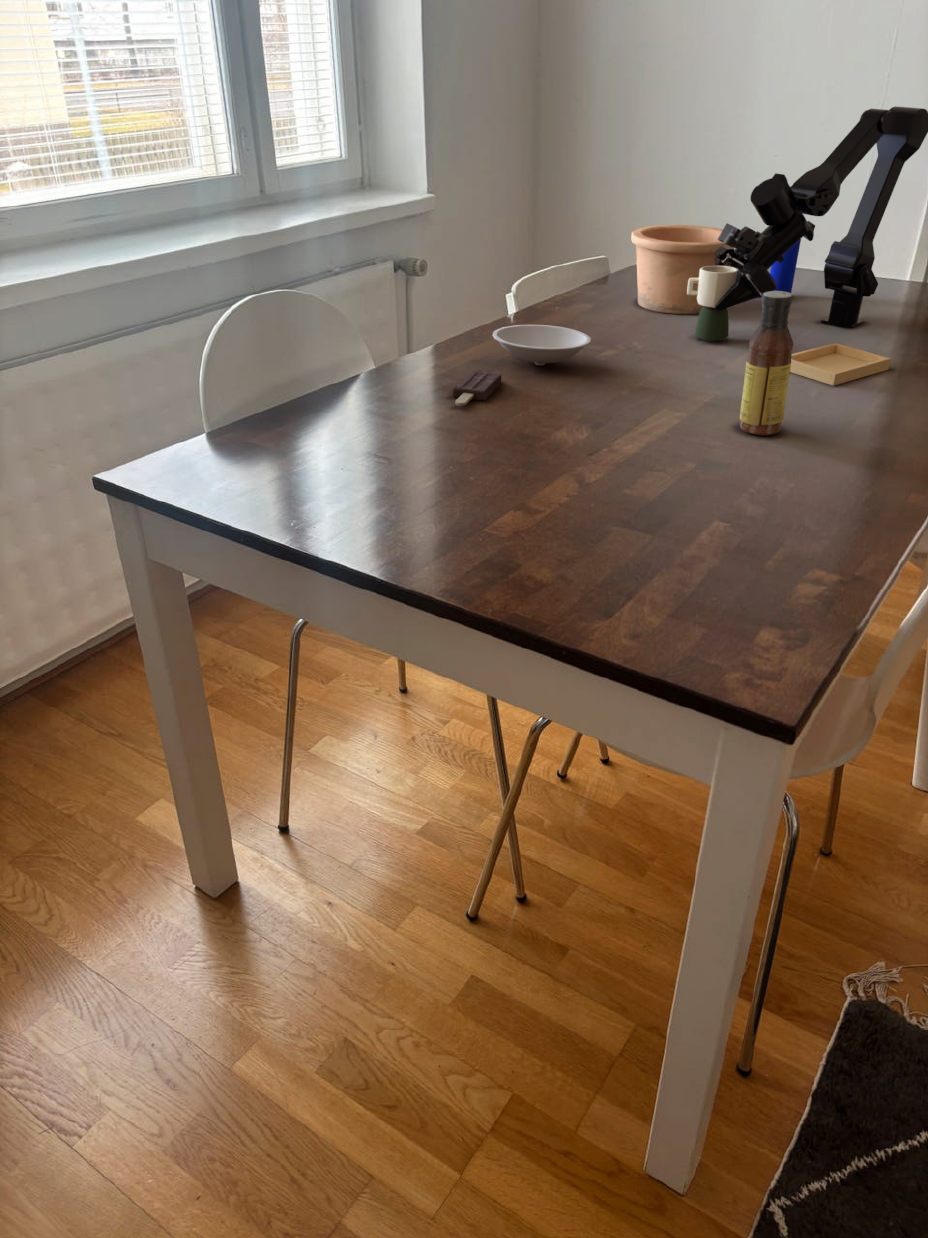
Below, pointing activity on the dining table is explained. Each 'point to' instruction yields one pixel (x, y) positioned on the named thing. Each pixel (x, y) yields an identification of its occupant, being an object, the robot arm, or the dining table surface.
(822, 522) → the dining table surface
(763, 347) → the sauce bottle
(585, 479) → the dining table surface
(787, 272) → the beverage can
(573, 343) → the dish
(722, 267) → the character mug
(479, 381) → the ice cream bar
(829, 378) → the mug tray
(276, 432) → the dining table surface
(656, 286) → the pottery
